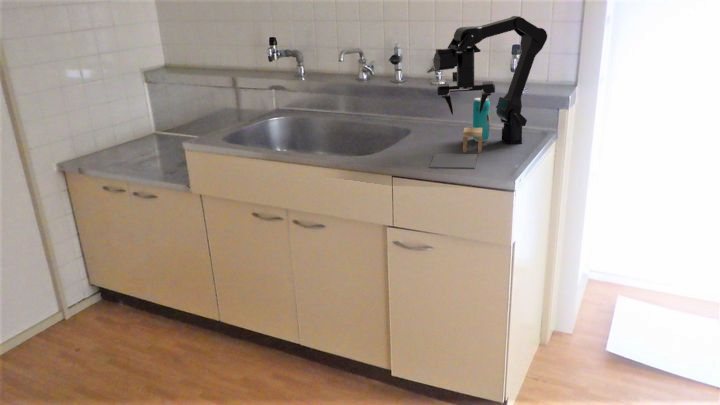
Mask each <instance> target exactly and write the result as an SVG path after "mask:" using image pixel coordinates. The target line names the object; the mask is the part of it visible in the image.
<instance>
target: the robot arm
mask: <svg viewBox="0 0 720 405" xmlns="http://www.w3.org/2000/svg"><path fill="white" fill-rule="evenodd" d="M511 31H514V32H515V33H516V34H517V35H518V36H519V37H520V45H519V46H520V54H519V58H518V61H517V64H516V66H515V70H514V72H513V75H512V78H511V80H510V81H511V82H510V84H509V88H508V91H507V92H506V94H505V95H504V97H502V96H499V98H498V101H497V105H496V106H495V109H496V115H497V117H498V118H500V122H501V123H503V127H502V128H501V141H502V143H503V144H523V127H525V126H526V125H527V122H528V120H527V118H525V116H524V115H522V113H521V112H522V107H523V105H522V104H523V103H522V95H523V93H524V90H525V88H526V84H527V81H528V78H529V75H530V72H531V69H532V66H533V64H534V61H535V58H536V56H537V55H538V54H539V53H540V52H541V50H542V49H543V48H544V45H545V44H546V42H547V39H548V33H547V31H546V30H545V28H542V27H537V26H536V25H534V24H533V23H532V22H530V21H529V20H526V19H525V18H523V16H519V15H513V16H511V17H507V18H505V19H501V20H496V21H493V22H490V23H486V24H483V25H476V26H474V25H473V26H461V27H459V28H457V29H456V30H455V32H454V34H453V38H452V39H451V41H450V43H449V44H448V46H447V48H435V54H434V55H433V58H432V61H433V62H432V64H433V67H434V69H435V71H437V72H440V71H448V70H453V69H455V68H456V71H453V72H452V73H451V74H452V83H456V85H450V83H438V85H437V89H436V90H437V91H436V92H437V96H441V98H442V99H444V100H445V101H446V103H447V105H448V108H449V111H450V113H451V115H452V116H453V115H454V108H453V102H452V96H451V93H453V92H456V93H457V92H474V91H475V92H476V91H480V97H481V98H480V106H479V113H481V111H482V108H483V105H484V102H485V100H486V98H489V97H488V96H491V95H492V94H494V93H496V86H495V82H494V81H490V80H489V81H482V82H481V84H475V53H480V52H481V49H480V48H479V47H478V46H477V44H479V43H481V42H482V41H483V40H485V39H488V38H490V37H494V36H497V35H500V34H501V35H502V34H505V33H508V32H511Z"/></svg>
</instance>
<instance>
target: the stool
mask: <svg viewBox="0 0 720 405" xmlns="http://www.w3.org/2000/svg"><path fill="white" fill-rule="evenodd" d="M469 137H471V138H472V137H478V142H477V154H478V153H479V154H480V153H482V149H483V142H482V128H473V127H464V128H463V132H462V153H467V149H468V140H469Z"/></svg>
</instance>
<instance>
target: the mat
mask: <svg viewBox="0 0 720 405" xmlns="http://www.w3.org/2000/svg"><path fill="white" fill-rule="evenodd" d="M477 158H478V153H437V152H436V153H434V156H433V158H432V160H431V162H430V164H429V169H466V170H467V169H470V170H471V169H473V170H475V168H476V167H475V166H476V162H477Z"/></svg>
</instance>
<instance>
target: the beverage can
mask: <svg viewBox="0 0 720 405" xmlns="http://www.w3.org/2000/svg"><path fill="white" fill-rule="evenodd" d="M480 98H481V96H480V97H474V99H473V103H472V128H482V143H485V142H488V140H489V137H490V115H491V114H490V110H491V109H490V108H491V105H490V104H491V102H490V98H489V97H487V98H486V100H485V102H484V105H483V108H482V111H481V113H479V106H480ZM473 140H474V141H475V142H477V143H478V137H473Z"/></svg>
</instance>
